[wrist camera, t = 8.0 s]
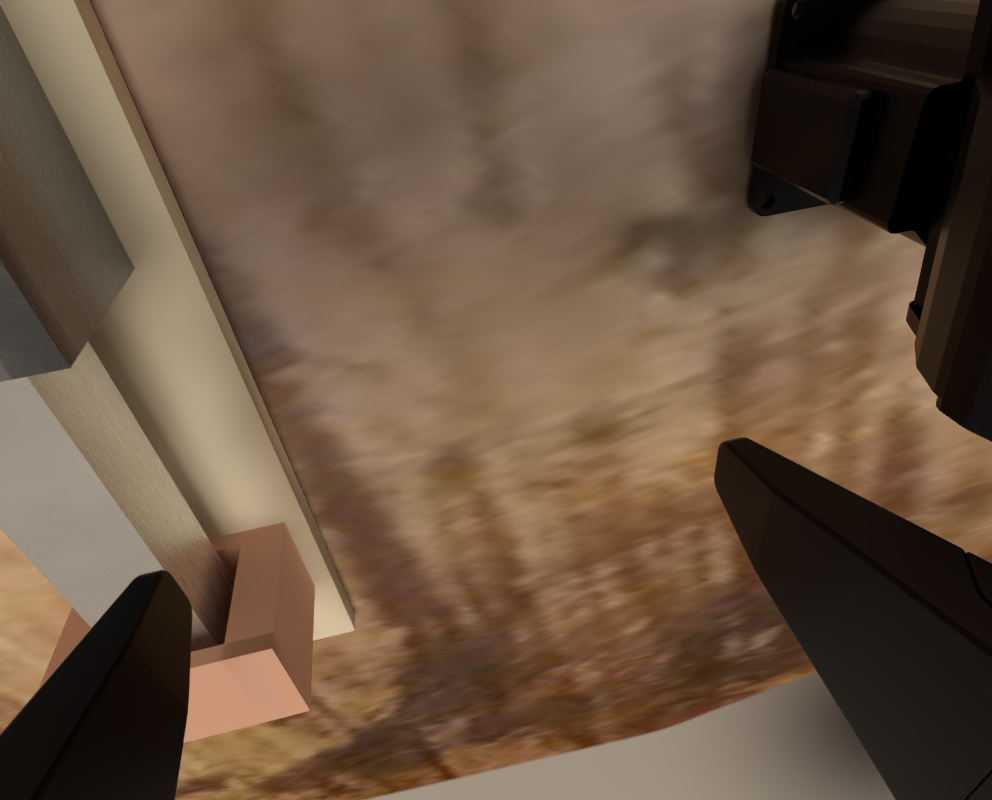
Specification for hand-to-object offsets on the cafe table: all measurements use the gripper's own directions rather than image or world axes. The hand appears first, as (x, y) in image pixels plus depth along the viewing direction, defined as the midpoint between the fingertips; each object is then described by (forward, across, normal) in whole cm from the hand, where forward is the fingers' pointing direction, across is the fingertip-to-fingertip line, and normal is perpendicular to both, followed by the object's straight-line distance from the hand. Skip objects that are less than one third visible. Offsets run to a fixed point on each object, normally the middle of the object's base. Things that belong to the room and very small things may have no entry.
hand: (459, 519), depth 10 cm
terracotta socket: (+11, +10, +12) cm, 19 cm away
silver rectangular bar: (+10, +10, +4) cm, 15 cm away
